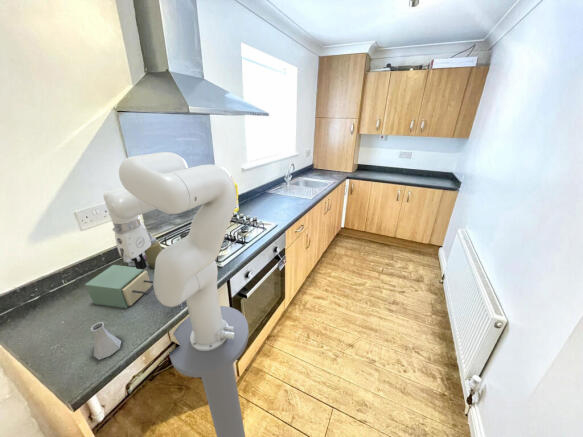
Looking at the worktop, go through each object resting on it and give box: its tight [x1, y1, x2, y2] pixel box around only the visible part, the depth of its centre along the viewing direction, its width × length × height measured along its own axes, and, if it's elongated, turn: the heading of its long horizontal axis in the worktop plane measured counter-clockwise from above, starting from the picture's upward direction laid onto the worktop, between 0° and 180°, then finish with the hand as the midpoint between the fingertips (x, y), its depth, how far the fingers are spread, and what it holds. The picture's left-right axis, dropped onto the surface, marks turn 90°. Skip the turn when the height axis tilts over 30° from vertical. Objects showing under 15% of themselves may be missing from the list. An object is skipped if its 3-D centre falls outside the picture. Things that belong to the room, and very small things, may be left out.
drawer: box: [121, 270, 154, 307], centre depth 93 cm, size 20×11×8 cm, turn 81°
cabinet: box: [84, 264, 145, 309], centre depth 94 cm, size 15×13×10 cm
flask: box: [90, 321, 122, 361], centre depth 72 cm, size 7×7×10 cm
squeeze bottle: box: [145, 231, 163, 269], centre depth 111 cm, size 8×8×18 cm
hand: (141, 267), depth 88 cm, fingers closed
